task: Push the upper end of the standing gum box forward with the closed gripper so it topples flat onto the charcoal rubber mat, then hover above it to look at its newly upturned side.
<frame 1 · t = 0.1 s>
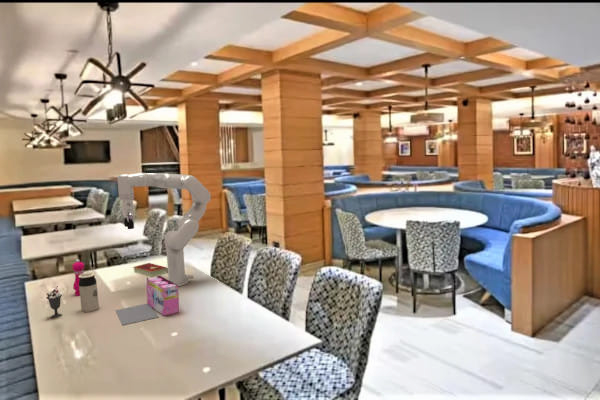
hand: (129, 227, 242), 37 cm above the table, tool pointing down, fingers open, 9 cm apart
pepper mill: (81, 294, 246), on the table
gum box: (162, 308, 219), on the table, touching rubber mat
sundae: (56, 316, 214), on the table
rubber mat: (136, 313, 213), on the table
travel mug: (90, 309, 221), on the table
hardcover book: (150, 273, 284), on the table
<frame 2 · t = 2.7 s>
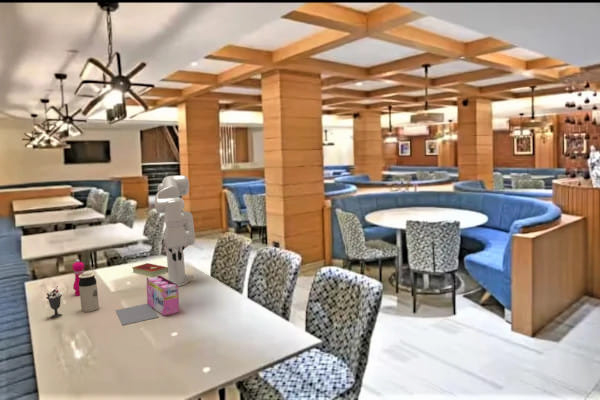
hand: (177, 260, 220), 23 cm above the table, tool pointing down, fingers closed
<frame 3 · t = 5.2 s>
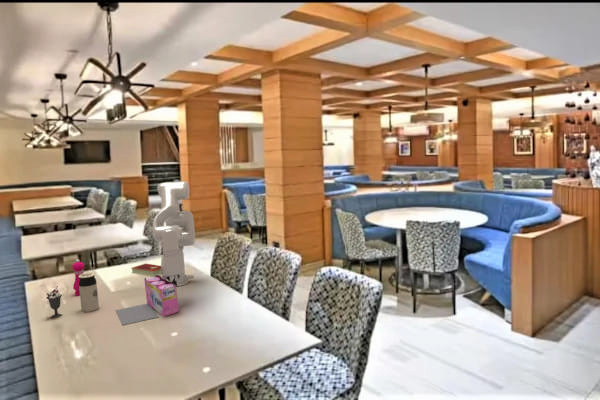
hand: (173, 288, 220), 9 cm above the table, tool pointing down, fingers closed
gum box: (162, 307, 219), on the table, touching gripper, rubber mat
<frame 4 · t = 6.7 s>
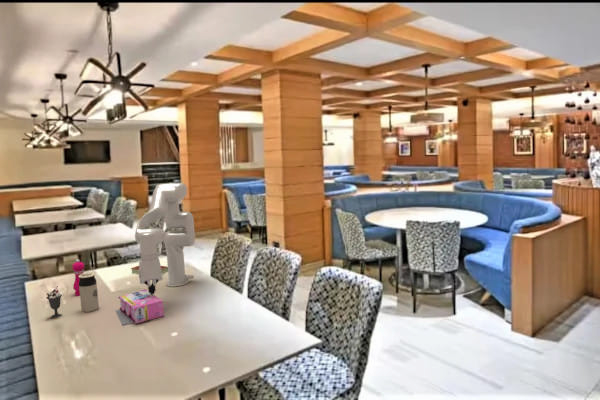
hand: (152, 293, 215), 9 cm above the table, tool pointing down, fingers closed
gum box: (155, 301, 216), point 4 cm above the table, touching rubber mat
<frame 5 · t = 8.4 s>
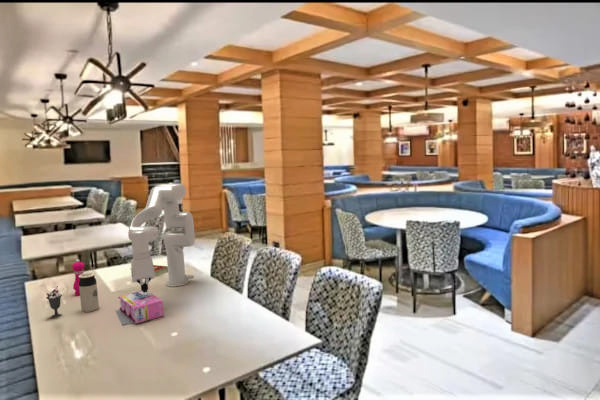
hand: (144, 291, 214), 10 cm above the table, tool pointing down, fingers closed
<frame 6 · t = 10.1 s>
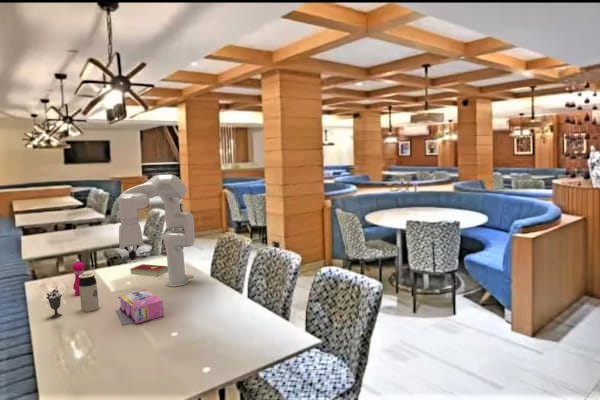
hand: (132, 259, 209), 27 cm above the table, tool pointing down, fingers closed
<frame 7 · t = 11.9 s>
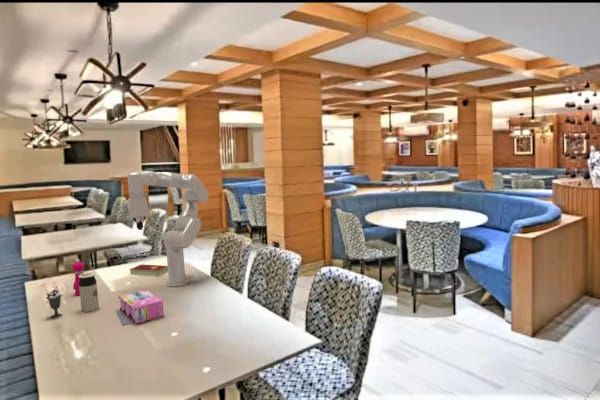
hand: (140, 229, 234), 37 cm above the table, tool pointing down, fingers closed
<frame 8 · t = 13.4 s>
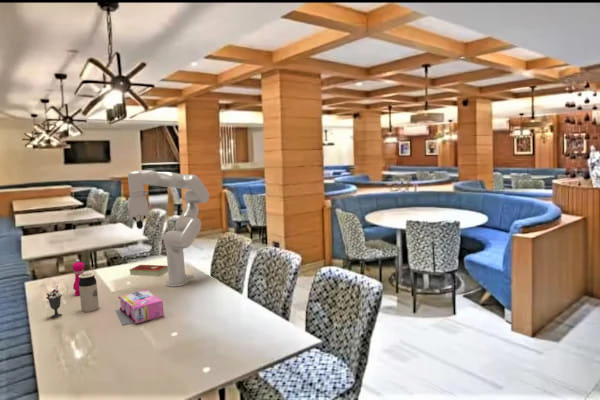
hand: (140, 228, 235), 37 cm above the table, tool pointing down, fingers closed
at the end: gum box tilted 90°; gum box touching rubber mat; gum box inside the target area (3.5 cm from its centre), point 4.2 cm above the table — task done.
